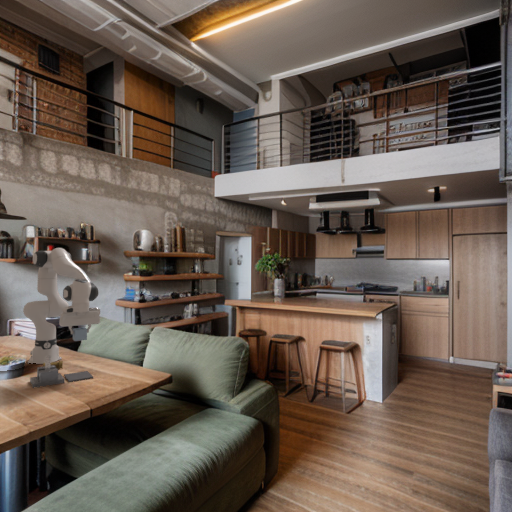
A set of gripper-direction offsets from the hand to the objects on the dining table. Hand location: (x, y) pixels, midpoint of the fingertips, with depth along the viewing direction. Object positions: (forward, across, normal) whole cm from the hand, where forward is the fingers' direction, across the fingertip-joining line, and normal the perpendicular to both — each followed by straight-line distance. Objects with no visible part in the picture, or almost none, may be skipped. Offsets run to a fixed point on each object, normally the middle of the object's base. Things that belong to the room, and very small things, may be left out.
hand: (79, 333), depth 195 cm
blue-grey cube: (+3, 0, 0) cm, 3 cm away
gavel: (+25, +10, -18) cm, 32 cm away
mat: (+24, 0, 0) cm, 24 cm away
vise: (+24, +15, 0) cm, 28 cm away
